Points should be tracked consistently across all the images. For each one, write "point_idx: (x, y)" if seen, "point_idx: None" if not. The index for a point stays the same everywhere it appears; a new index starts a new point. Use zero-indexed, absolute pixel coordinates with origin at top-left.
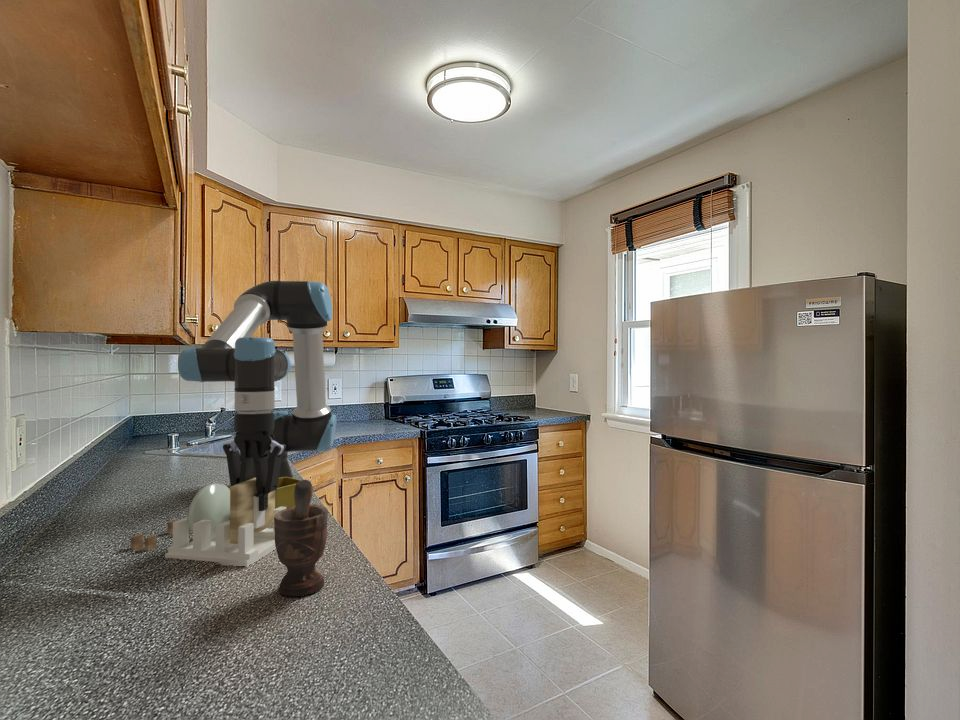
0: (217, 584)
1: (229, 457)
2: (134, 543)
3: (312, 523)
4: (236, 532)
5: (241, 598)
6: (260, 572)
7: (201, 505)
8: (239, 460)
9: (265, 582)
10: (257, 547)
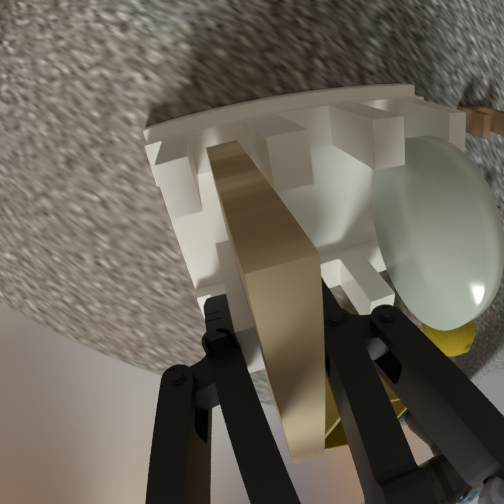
0: (127, 20)
1: (500, 440)
2: (495, 111)
3: None
4: (212, 157)
5: (12, 21)
6: (83, 127)
7: (450, 194)
8: (446, 452)
9: (24, 99)
10: (207, 215)
